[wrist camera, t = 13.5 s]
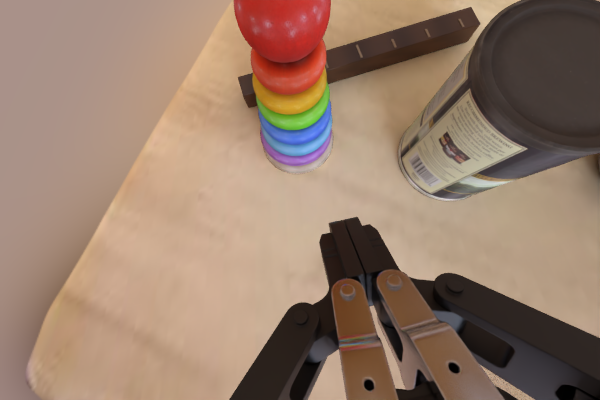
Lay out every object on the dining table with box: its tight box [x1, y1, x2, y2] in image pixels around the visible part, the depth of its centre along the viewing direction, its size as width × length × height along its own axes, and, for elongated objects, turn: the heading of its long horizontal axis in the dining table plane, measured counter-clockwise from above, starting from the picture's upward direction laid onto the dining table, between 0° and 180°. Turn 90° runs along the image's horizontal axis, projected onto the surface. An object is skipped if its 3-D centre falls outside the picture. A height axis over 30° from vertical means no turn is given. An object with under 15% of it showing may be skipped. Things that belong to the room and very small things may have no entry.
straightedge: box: [238, 7, 480, 108], centre depth 29 cm, size 28×2×3 cm, turn 107°
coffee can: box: [398, 0, 600, 201], centre depth 21 cm, size 10×10×14 cm
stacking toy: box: [234, 0, 333, 174], centre depth 20 cm, size 8×8×19 cm
